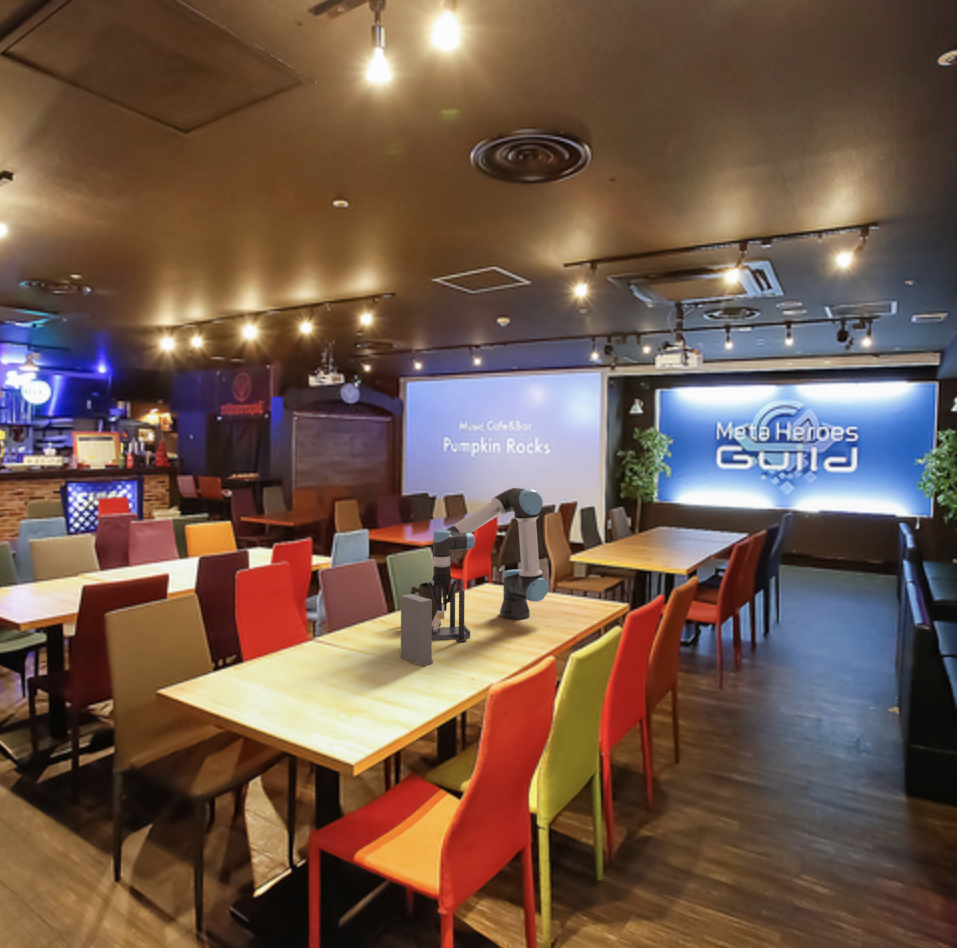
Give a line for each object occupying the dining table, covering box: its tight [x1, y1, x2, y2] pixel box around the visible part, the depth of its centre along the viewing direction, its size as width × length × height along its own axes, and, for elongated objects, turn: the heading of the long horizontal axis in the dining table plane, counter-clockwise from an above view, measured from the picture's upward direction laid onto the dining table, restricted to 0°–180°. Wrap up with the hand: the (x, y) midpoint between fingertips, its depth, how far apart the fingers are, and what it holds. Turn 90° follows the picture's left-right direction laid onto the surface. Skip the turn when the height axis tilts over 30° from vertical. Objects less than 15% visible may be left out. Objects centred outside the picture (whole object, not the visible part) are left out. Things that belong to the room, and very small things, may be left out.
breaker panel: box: [432, 624, 471, 641], centre depth 288 cm, size 24×12×3 cm, turn 105°
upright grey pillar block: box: [399, 593, 434, 667], centre depth 254 cm, size 14×6×25 cm, turn 41°
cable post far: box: [449, 582, 456, 627], centre depth 297 cm, size 4×4×22 cm
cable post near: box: [455, 589, 467, 644], centre depth 280 cm, size 4×4×22 cm
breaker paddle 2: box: [433, 613, 442, 633], centre depth 286 cm, size 2×4×8 cm, turn 15°
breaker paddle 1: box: [432, 610, 441, 630], centre depth 292 cm, size 2×4×8 cm, turn 15°
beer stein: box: [409, 582, 442, 627], centre depth 305 cm, size 15×11×20 cm
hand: (442, 618), depth 286 cm, fingers closed
